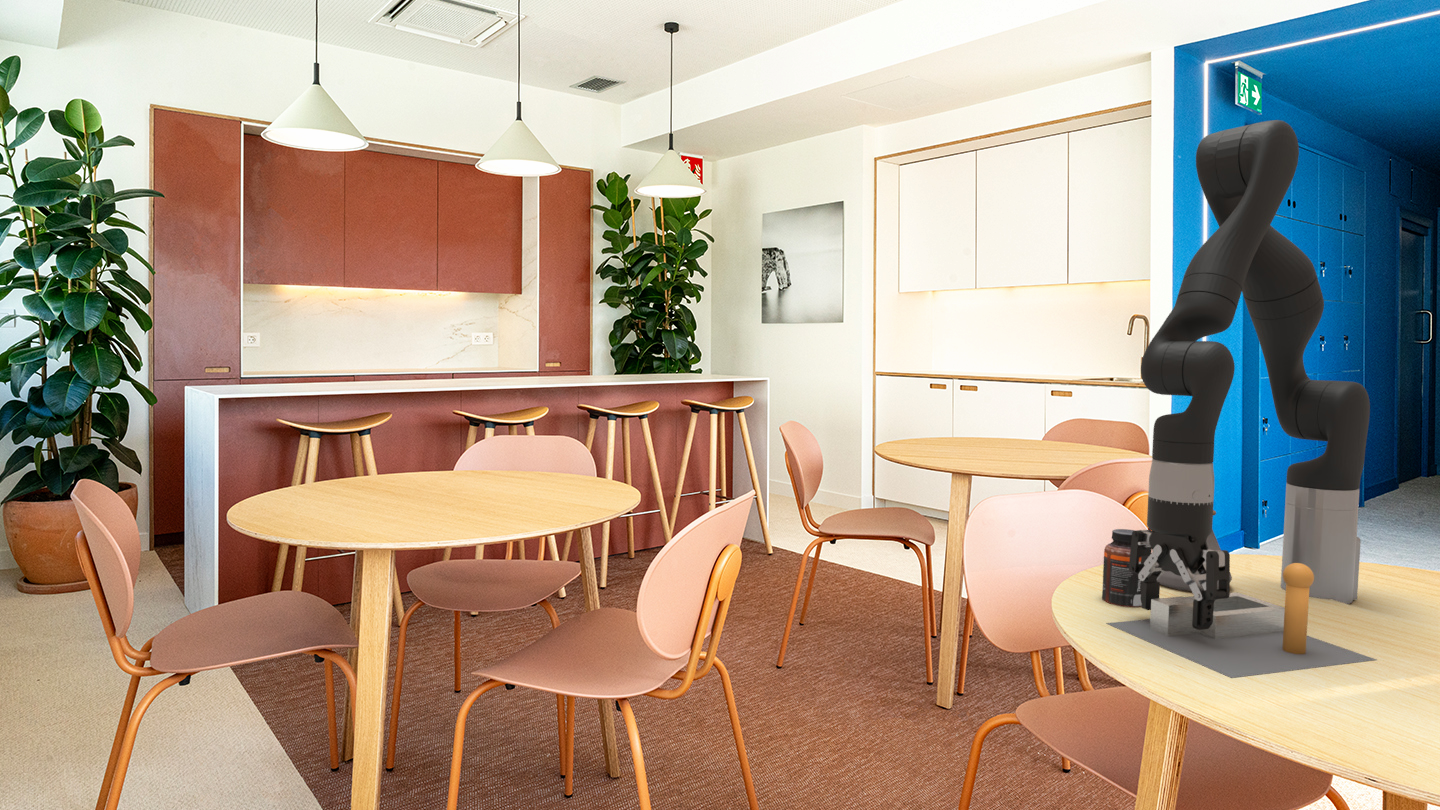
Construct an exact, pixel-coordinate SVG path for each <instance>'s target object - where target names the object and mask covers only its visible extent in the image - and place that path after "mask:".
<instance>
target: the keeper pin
mask: <svg viewBox="0 0 1440 810" xmlns="http://www.w3.org/2000/svg"><path fill="white" fill-rule="evenodd" d="M1283 579H1284V581H1285V583H1286V590H1285V596H1284V597H1285V598H1284V608H1285V612H1284V630H1283V647H1282V649H1283V650H1284V651H1286V652H1289V653H1293V654H1305V653H1306V640H1307V636H1308V635H1307V634H1308V619H1309V605H1310V604H1309V603H1310V597H1309V588H1310V586H1311V585H1312V583H1313V581H1314V574H1313V572H1312V570H1311V569H1310V568H1309V567H1308V566H1306V565H1304V564H1301V563H1293V564H1290V565H1288V566H1287V567H1286V568H1285V569H1284V571H1283Z"/></svg>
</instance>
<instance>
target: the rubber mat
mask: <svg viewBox="0 0 1440 810" xmlns="http://www.w3.org/2000/svg"><path fill="white" fill-rule="evenodd" d="M1105 624H1106V625H1107V626H1108V625H1109V626H1110V627H1113V628H1115V629H1117V630H1120V631H1122V632H1124V633H1126V634H1129V635H1131V636H1134V637H1135V638H1138V639H1140V640H1143V641H1145V642H1147V643H1149V644H1152V645H1154V646H1157V647H1159V648H1161V649H1163V650H1166V651H1168V652H1171V653H1172V654H1175V655H1177V656H1179V657H1182V658H1184V659H1187V660H1189V661H1191V662H1194V663H1196V664H1198V665H1200V666H1201V667H1205V668H1207V669H1209V670H1212V671H1214V672H1216V673H1218V674H1220V675H1223V676H1226V677H1228V678H1230V679H1237V678H1244V677H1245V678H1246V677H1253V676H1261V675H1269V674H1275V673H1285V672H1292V671H1301V670H1308V669H1316V668H1326V667H1332V666H1340V665H1348V664H1357V663H1364V662H1372V661H1373V662H1374V661H1378V659H1377V658H1374V657H1370V656H1367V655H1365V654H1362V653H1359V652H1356V651H1354V650H1350V649H1348V648H1344V647H1342V646H1339V645H1337V644H1333V643H1329V642H1327V641H1324V640H1322V639H1319V638H1315V637H1313V636H1310V635H1307V640H1306V653H1305V654H1293V653H1289V652H1286V651H1284V650H1283V649H1282V647H1283V632H1277V633H1268V634H1259V635H1249V636H1240V637H1231V638H1222V639H1213V638H1210V637H1208V636H1205V635H1203V634H1200V633H1194V634H1185V635H1175V636H1166V635H1163V634H1161V633H1159V632H1156V631H1154V630H1151V629H1150V618H1146V619H1145V618H1144V619H1135V620H1127V621H1126V620H1125V621H1116V622H1106V623H1105Z"/></svg>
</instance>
